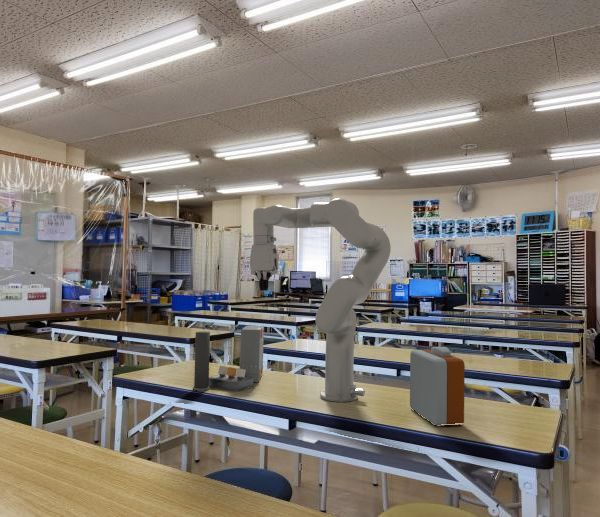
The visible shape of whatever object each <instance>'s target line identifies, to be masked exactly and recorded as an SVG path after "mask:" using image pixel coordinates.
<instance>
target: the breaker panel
mask: <svg viewBox="0 0 600 517" xmlns="http://www.w3.org/2000/svg"><path fill="white" fill-rule="evenodd" d="M253 381H254V378H251V377H244V378H243V379H237V376H234V377H233V378H231V377H228V375H225V376H220V375H219V374H216V375H213V376H209V388H210V387H212V388H215V389H216V388H217V389H223V390H229V391H234V392H235V391H236V392H241V391H244V390H247V389H249V388H248V387H250V388H251V386H252V387H254V382H253ZM246 388H247V389H246ZM243 389H244V390H243Z"/></svg>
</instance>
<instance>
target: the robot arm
mask: <svg viewBox="0 0 600 517" xmlns="http://www.w3.org/2000/svg"><path fill="white" fill-rule="evenodd" d="M252 214H253V215H252V218H253V219H252V220H253V223H252V224H253V226H252V227H253V228H252V229H253V239H252V241H253V242H252V243H253V244H252V245H251V249H250V256H249V258H250V259H249V269H250V275H253V276H255V277H256V278H257V280H258V283H259V284H258V285H259V286H258V288H259V291H260V292H261V291H268V290H269V280H271V279H270V278H271V277H272V276H273V275H277V274H278V270H279V255H278V249H277V246H276V244H274V243H275V242H277V237H275V235H274V234H275V233H274V226H276V227H281V228H287V229H308V228H326V227H327V228H328V227H329V228H334V229H335V230H336V231H337V233H339V234H340V235H341V236H342V237H343V238H344V239H345V240H346V241H347V242H348V243H349V244H350V245H351V246H352V247H354V248H357V249H363V250H364V252H363V254H362V256H361V257H359V259H358V261H356V263H355V265H354V268H353V269H352V271H351V272H350V274H349V275H346V276H341V277H338V278H337V279H336V280H335V281H334V282H333V283H332V284H331V286H330V287H329V290H327V293H325V294H326V295H325V296H324V298H323V300H322V302H321V303H320V306H319V307H318V309H317V311H316V314H315V318H314V319H315V325H316V328H317V329H318V331H320V332H321V333H323V334H325V335H326V340H325V362H324V363H325V364H324V365H325V366H324V368H325V371H324V373H325V374H324V390H323V391H321V392H320V396H319V397H320V398H321V399H322V400H325V401H329V402H338V403H341V402H342V403H344V402H345V403H346V402H347V403H348V402H353V401H357V400H358V398H359V397H364V396H365V392H366V391H365V390H364V388H358V387H357V383H354V369H355V368H354V364H355V363H354V360H355V356H354V355H355V354H354V352H355V335H356V328H357V314H356V311H355V310H354V308H353V307H354V306H356V305H360V304H362V303H364V302H365V301H366V300H367V298H368V297H369V295H370V293H371V291H372V289H373V288H374V286H375V284H376V283H377V281H378V279H379V277H380V275H381V273H382V272H383V270H384V268H385V267H386V265H387V263H388V261H389V259H390V255H391V241H390V238H389V237H388V234H387V233H386V231H385V230H384V229H383V228H381V227H380V226H378V225H377V224H373V223H370V222H367V221H365V220H364V219H363V218H362V217H361V216H360V211H359V208H358V207H357V205H356V204H355V203H353V202H351V201H350V200H349V201H348V200H346V199H343V198H334V199H332V200H330V201H329V202H314V203H312V204H311V205H310V207H304V208H303V207H302V208H293V207H292V208H291V207H288V206H284V205H281V204H274V205H270V206H268V207H256V208H254V209H253V213H252Z"/></svg>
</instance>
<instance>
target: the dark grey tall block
mask: <svg viewBox="0 0 600 517" xmlns="http://www.w3.org/2000/svg"><path fill="white" fill-rule="evenodd" d="M210 337H211V332H210V331H196V332H195V338H194V340H195V341H194V342H195V344H194V382H193V383H194V384H193V387H192V389H194V390H193V391H195V390H197V391H196V392H206V391H209V390H210V386H209V377H210V348H211V347H210V346H211V344H210V342H211V341H210Z"/></svg>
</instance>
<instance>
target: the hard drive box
mask: <svg viewBox="0 0 600 517" xmlns="http://www.w3.org/2000/svg"><path fill="white" fill-rule="evenodd" d="M264 335H265V326H263V325H245V327H243V328H242V329H241V330H240V344H239V345H240V346H239V349H240V350H239V369H244V370H246V372H245V377H251V378H254V381H253V383H259V381H260V380H261V378H262V376H263V372H264V370H263V368H264Z"/></svg>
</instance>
